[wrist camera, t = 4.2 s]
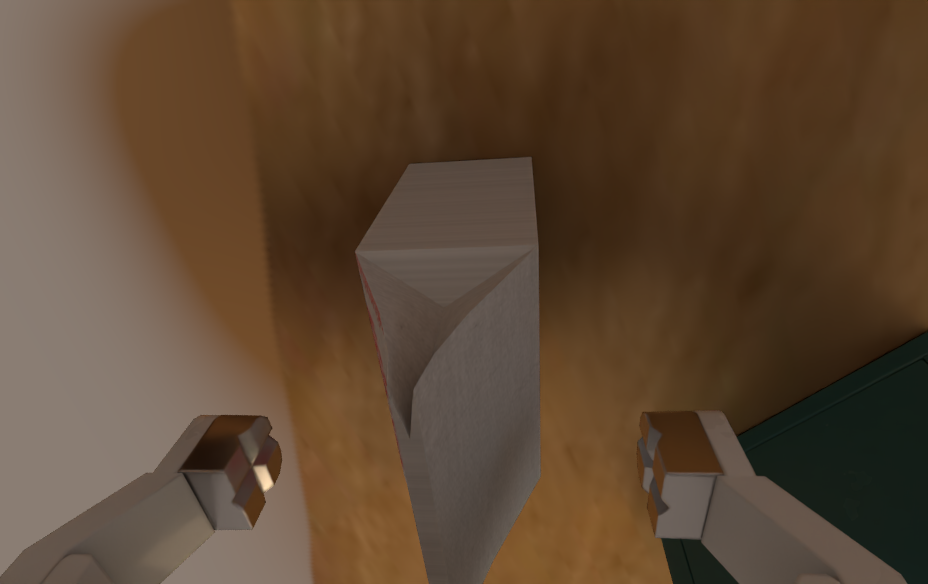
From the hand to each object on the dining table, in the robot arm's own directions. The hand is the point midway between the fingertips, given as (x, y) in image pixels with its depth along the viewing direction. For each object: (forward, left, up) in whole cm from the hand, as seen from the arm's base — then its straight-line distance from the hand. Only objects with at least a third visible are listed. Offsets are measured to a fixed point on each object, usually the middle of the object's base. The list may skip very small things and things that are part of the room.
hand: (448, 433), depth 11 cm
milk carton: (-1, 0, -7) cm, 7 cm away
